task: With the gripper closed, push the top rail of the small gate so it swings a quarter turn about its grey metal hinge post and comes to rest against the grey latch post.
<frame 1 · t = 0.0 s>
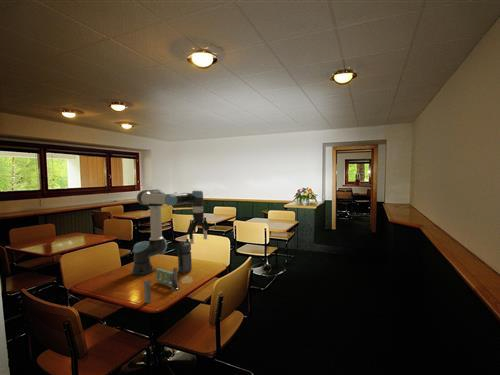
hand: (198, 241, 178), 28 cm above the table, fingers open, 13 cm apart
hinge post: (175, 288, 165), on the table
gate: (165, 277, 170), point 5 cm above the table, hinge at 0.0°
latch post: (147, 302, 147), on the table
beverage bottle: (184, 271, 194), on the table
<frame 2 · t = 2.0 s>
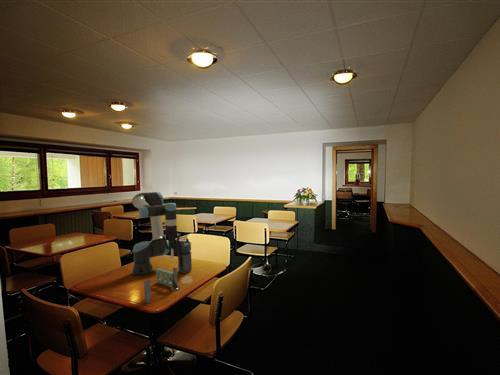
hand: (172, 258, 174), 17 cm above the table, fingers closed
nothing on the table moved.
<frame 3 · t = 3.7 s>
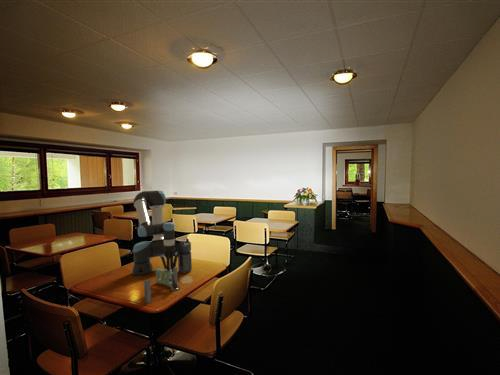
hand: (170, 277, 173), 4 cm above the table, fingers closed
gate: (165, 277, 170), point 5 cm above the table, hinge at 0.6°, touching gripper
everything else where it was.
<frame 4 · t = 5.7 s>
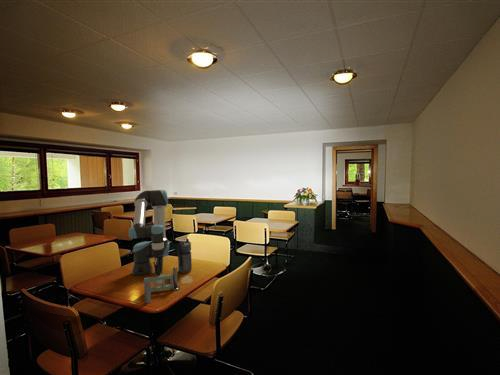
hand: (159, 283, 164), 4 cm above the table, fingers closed
gate: (159, 283, 161), point 5 cm above the table, hinge at 54.4°, touching gripper
everything else where it was.
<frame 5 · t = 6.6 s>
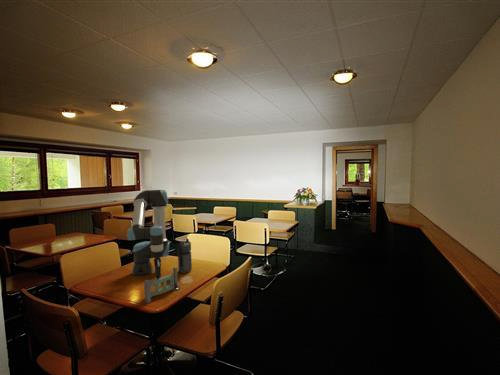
hand: (158, 286, 160), 4 cm above the table, fingers closed
gate: (160, 285, 157), point 5 cm above the table, hinge at 78.9°, touching gripper
everything else where it was.
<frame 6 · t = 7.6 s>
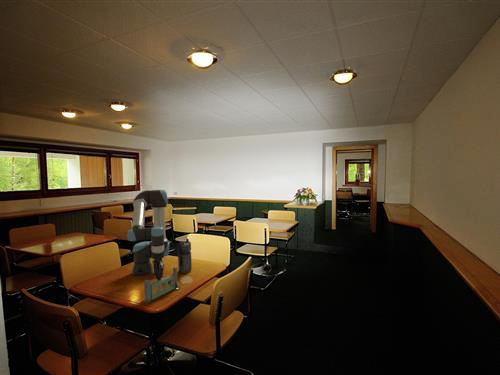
hand: (158, 287, 158), 4 cm above the table, fingers closed
gate: (162, 286, 156), point 5 cm above the table, hinge at 91.4°, touching gripper
everything else where it was.
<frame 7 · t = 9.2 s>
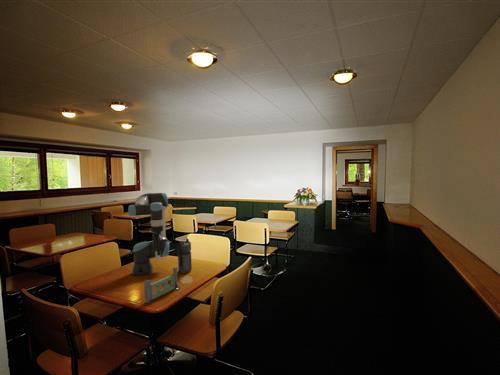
hand: (158, 259, 168), 18 cm above the table, fingers closed
gate: (162, 286, 156), point 6 cm above the table, hinge at 90.6°
everything else where it was.
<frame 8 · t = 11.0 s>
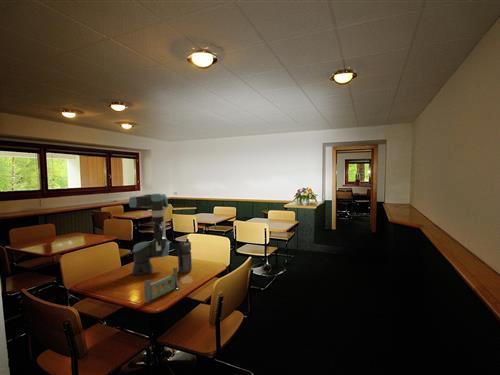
hand: (158, 250, 170), 24 cm above the table, fingers closed
nothing on the table moved.
at the end: gate at +91° (first picture: +0°) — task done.
